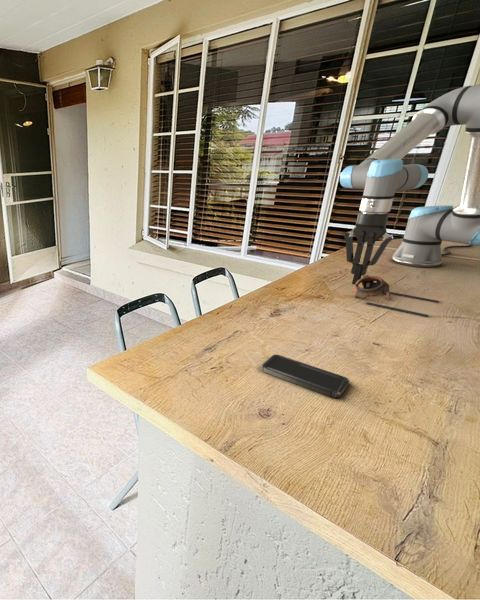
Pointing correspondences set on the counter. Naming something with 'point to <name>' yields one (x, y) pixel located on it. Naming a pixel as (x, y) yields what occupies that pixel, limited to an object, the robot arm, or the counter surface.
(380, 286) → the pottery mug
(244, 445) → the counter surface
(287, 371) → the phone
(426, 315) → the bay strips
